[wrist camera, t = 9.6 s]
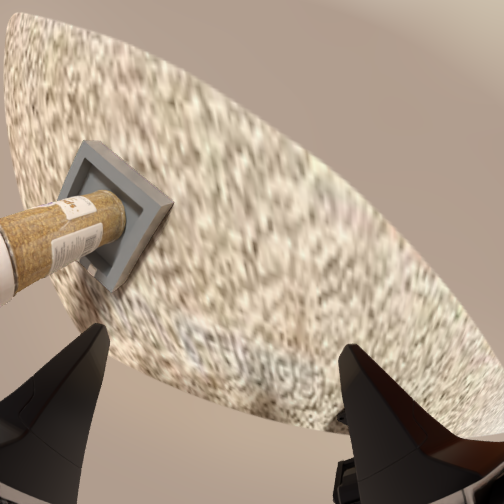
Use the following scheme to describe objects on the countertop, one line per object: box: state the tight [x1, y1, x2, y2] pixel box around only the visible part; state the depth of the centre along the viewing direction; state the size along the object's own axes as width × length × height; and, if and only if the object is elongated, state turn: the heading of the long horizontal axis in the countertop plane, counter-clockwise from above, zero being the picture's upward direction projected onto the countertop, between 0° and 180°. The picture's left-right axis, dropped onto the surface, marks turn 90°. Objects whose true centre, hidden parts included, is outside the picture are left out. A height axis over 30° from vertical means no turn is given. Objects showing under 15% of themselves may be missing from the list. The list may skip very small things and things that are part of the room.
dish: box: [57, 140, 174, 293], centre depth 20 cm, size 9×9×2 cm
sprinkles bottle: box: [0, 190, 126, 307], centre depth 14 cm, size 5×5×14 cm
